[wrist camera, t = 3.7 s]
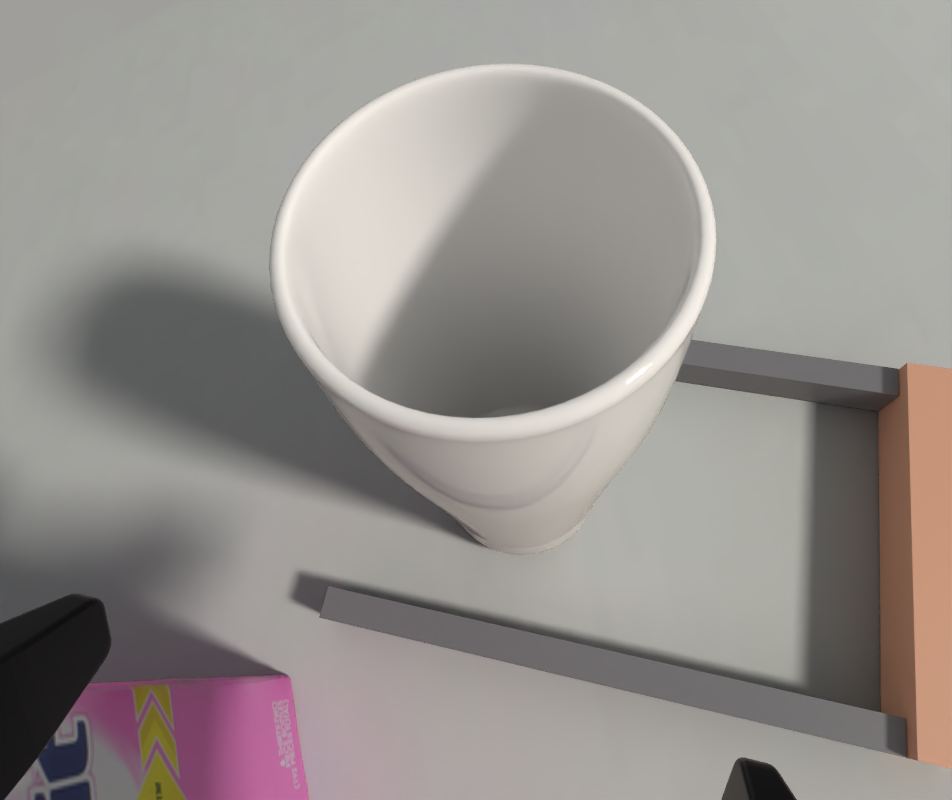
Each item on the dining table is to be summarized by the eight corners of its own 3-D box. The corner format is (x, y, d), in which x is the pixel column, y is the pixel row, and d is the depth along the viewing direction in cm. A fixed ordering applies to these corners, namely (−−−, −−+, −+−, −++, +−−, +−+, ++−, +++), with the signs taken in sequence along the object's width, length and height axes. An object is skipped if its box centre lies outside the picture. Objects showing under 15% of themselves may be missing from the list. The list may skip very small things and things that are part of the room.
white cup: (407, 433, 24) (222, 136, 10) (571, 373, 24) (605, 4, 11) (464, 607, 22) (318, 520, 8) (648, 538, 22) (823, 333, 8)
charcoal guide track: (333, 619, 22) (319, 617, 20) (418, 319, 26) (411, 300, 25) (880, 750, 19) (906, 757, 17) (877, 386, 23) (898, 368, 22)
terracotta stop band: (881, 750, 19) (917, 760, 17) (878, 386, 23) (907, 362, 21) (936, 763, 19) (979, 775, 17) (923, 392, 23) (956, 369, 21)
